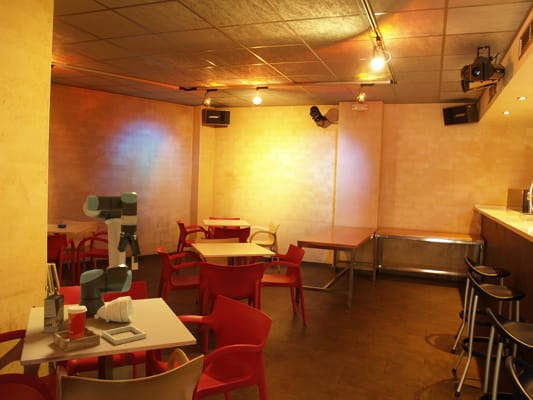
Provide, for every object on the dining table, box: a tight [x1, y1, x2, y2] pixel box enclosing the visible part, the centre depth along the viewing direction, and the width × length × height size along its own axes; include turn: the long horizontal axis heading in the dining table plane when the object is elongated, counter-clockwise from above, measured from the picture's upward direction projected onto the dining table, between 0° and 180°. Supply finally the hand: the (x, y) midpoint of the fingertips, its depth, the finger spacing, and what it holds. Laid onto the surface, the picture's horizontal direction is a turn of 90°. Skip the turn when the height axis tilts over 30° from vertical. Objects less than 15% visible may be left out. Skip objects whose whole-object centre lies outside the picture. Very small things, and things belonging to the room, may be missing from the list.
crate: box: [53, 326, 101, 353], centre depth 203 cm, size 15×15×4 cm
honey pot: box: [94, 295, 134, 324], centre depth 234 cm, size 13×13×18 cm
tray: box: [101, 324, 147, 346], centre depth 213 cm, size 15×15×2 cm
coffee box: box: [43, 294, 65, 333], centre depth 220 cm, size 9×6×16 cm
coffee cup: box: [66, 305, 87, 341], centre depth 203 cm, size 8×8×15 cm
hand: (128, 267), depth 222 cm, fingers open, 13 cm apart
